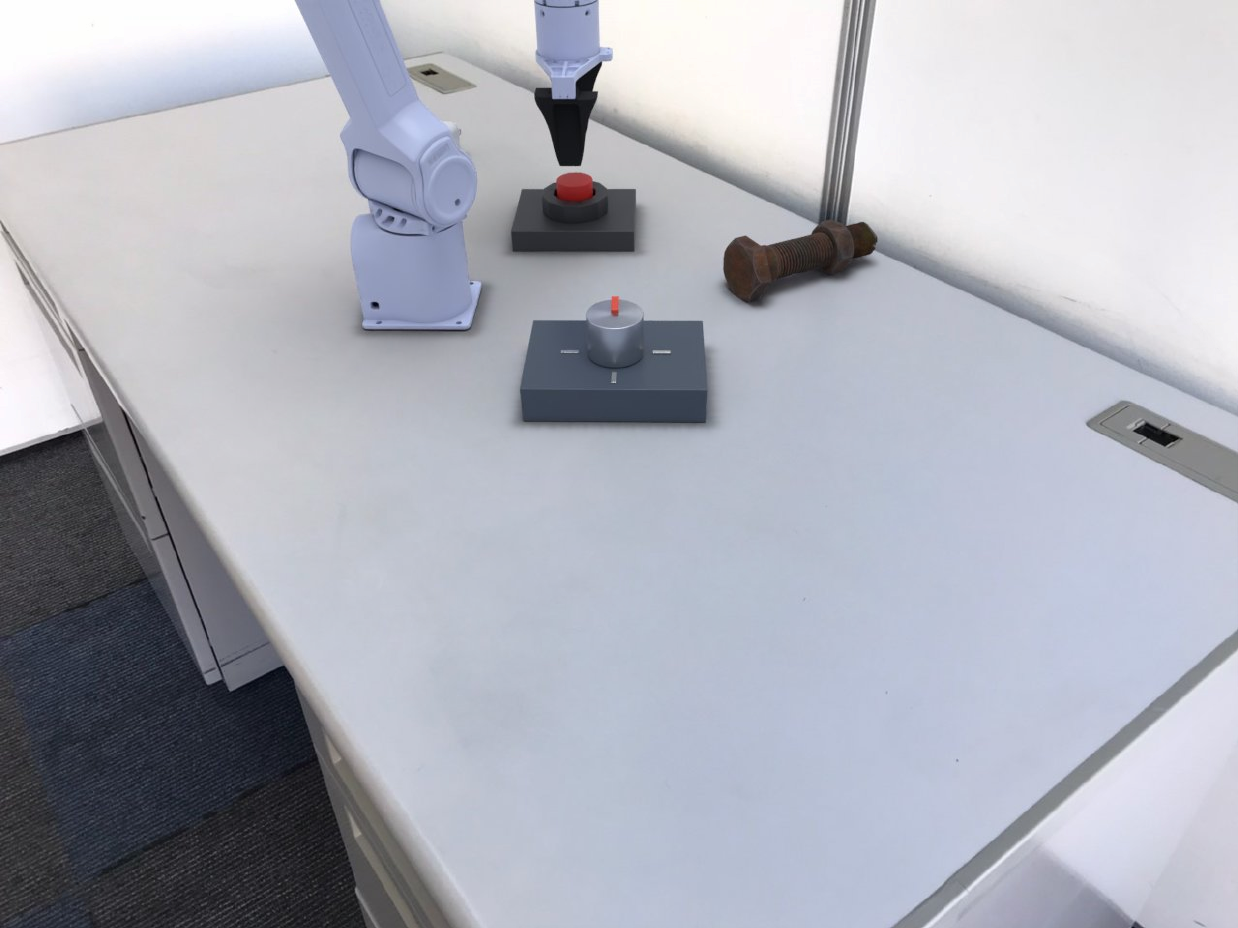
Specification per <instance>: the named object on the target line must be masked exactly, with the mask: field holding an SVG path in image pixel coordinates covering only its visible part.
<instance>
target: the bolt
mask: <svg viewBox="0 0 1238 928" xmlns="http://www.w3.org/2000/svg"><path fill="white" fill-rule="evenodd" d="M878 240H879V238H878V235H877V234H876V233H875V231H874V230H873V229H872V228H871V226H870V225H869V224H868V223H866V222H865V221H859V222H857V223H852V224H848V225H844V224H843V223H842V222H839V221H837V220H834V219H827V220H824V221H823V220H822V221H820V222H819V223H818V225H816V226H815V228H813V230H812V232H811V233H810V234H807V235H803V236H799V237H794V238H790V239H787V240H783V241H778V242H775V243H771V244H763V245H761V244H760V243H758V242H756V241H755V240H753V239H752V238H750V236H747V235H741V236H738V237H735V238H733V240H732V241H730V243H729V244H728V245H727V246H726V248H725V250H724V254H723V264H722V265H723V267H722V269H723V271H722V272H723V275H724V279H725V281H726V283H727V285H728V287H729V289H730V291H731V293H733V295H734V296H735V297H737V298H738V299H740V300H743V301H745V302H748V303H751V302H755V301H758V300H760V299H761V297H762V296H763V295H764V292H765V291H766V290H767V288H768V287H769V285H770V284H771V283H773V282H774V281H776V280H780V279H784V278H787V277H791V276H794V275H799V274H803V273H807V272H810V271H814V270H817V269H818V270H820V271H821V272H823V273H825V274H829V275H832V276H833V275H836V274H839V273H842V272H843V271H845V269H847V267H848V266H849V265H851V263H852V261H853V260H854V259H859V258H862V257H863V258H864V257H866V256H870V255H872V254H873V253H874V251H875V250H876V246H877V243H878V242H879V241H878Z"/></svg>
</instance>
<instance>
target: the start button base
mask: <svg viewBox="0 0 1238 928" xmlns="http://www.w3.org/2000/svg"><path fill="white" fill-rule="evenodd" d="M636 219H637V189H636V188H607V187H606V186H605V185H604V184H602V183H600V182H598V181H595V180H593V197H591V198H590V199H587V200H582V201H565V200H561V199H558V198H557V186H556V181H555V182H552V183H550V184H549V185H547V186H545V187H544V188H522V189H521V191H520V196H519V199H518V203H517V207H516V211H515V215H514V219H513V222H512V227H511V230H510V235H511V236H510V237H511V247H512V252H516V253H517V252H519V253H520V252H524V253H525V252H530V253H531V252H535V253H537V252H538V253H539V252H547V253H548V252H552V253H553V252H560V253H561V252H563V253H564V252H565V253H566V252H568V253H569V252H571V253H572V252H573V253H574V252H581V253H582V252H584V253H585V252H587V253H588V252H589V253H590V252H593V253H594V252H597V253H598V252H599V253H601V252H602V253H603V252H604V253H605V252H608V253H609V252H610V253H611V252H612V253H613V252H614V253H615V252H616V253H617V252H618V253H619V252H620V253H621V252H622V253H623V252H625V253H626V252H629V253H632V252H635V247H636V246H635V243H636V242H635V241H636Z"/></svg>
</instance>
